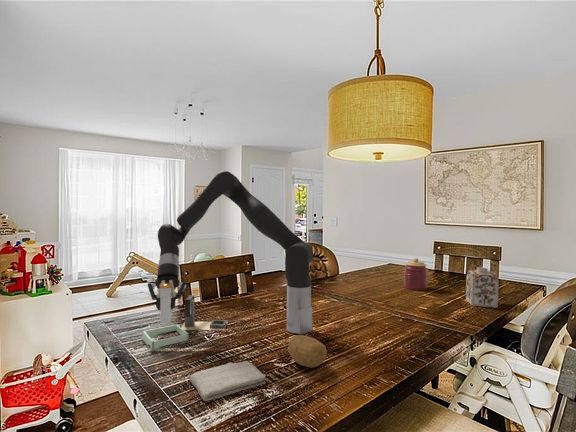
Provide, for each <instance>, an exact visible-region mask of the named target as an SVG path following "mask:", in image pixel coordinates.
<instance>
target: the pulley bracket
mask: <svg viewBox="0 0 576 432" xmlns="http://www.w3.org/2000/svg"><path fill="white" fill-rule="evenodd" d="M195 303H196V302H195V295H188V297H186V298H185V300H184V322H183V324H181V326H180V327H181V328H182V329H183V330H184V331H224V330H225V329H226V326H227V324H228V321H227V319H225V320H224V319H217V320H216V319H212V320H211V321H195V317H196V315H195V314H196V310H195V308H196V306H195V305H196V304H195Z"/></svg>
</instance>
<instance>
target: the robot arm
mask: <svg viewBox="0 0 576 432" xmlns="http://www.w3.org/2000/svg"><path fill="white" fill-rule="evenodd" d="M222 195H223V196H225V197H227V198H228V199H229V200H230V201H232V202H233V203H235V204H236V206H237V207H238V208H239V209H240V210H241V212H242V214H243V215H244V216H245V218H246V219H247V221H249V223H250V224H251V225H252V226H253V227H254V228H255V229H256V230H257V231H258V232H260V233H261V234H262V235H264V236H265V237H267V238H268V239H270V240H272V241H274V242H276V243H277V244H278V245H280V246H281V247H282V249H283V250H285V256H284V269H285V271H284V272H285V275H284V276H285V279H286V331H287V332H289V333H291V334H298V335H305V334H307V333H310V332H312V331H313V306H312V304H311V303H312V301H311V299H312V278H311V276H310V264H311V263H312V261H313V260H314V251H313V249H312V247H311V246H310V245H309V244H308V243H306V241H304V240H303V239H301V238H300V237H299V236H298V235H296V233H294V232H293V231H292V230H291V229H289V227H288V226H287V225H286V224H285V223H284V222H283V221H282V220H281V219H280V217H278V216H277V215H276V214H275V213H274V212H273V211H272V210H271V209H270V208H269V207H268V206H267V205H266V204H265V203H263V202H262V201H261V200H259V199H258V198H257V197H255V196H254V195H253V194H251V193H250V191H248V189H247V188H246V186H244V185H243V184H242V182H241V181H240V180H239V178H238V177H237V176H236V175H234V174H233V173H232V172H230V171H227V170H223V171H219V172H218V173H216V175H215V176H214V177H213V178H212V180H211V181H210V182H209V184H208V185H207V186H206V187H205V188H204V189H203V191H201V193H200V195H199V196H198V197H197V198H196V199H195V200H194V202H192V203H191V204H190V205H189V206H188V207H187V208H186V209H185V210H184V211H183V212H182V213H181V214H179V215H178V216H177V218H176V221H177V224H178V225H179V226H180V228H179V229H178V228H177V227H176V226H174V225H172V224H171V223H164V224H162V225H161V226H160V227H159V229H158V231H157V241H158V244H159V249H160V251H159V252H160V253H159V254H160V255H159V260H158V267H157V275H156V280H155V281H154V282H153V283H151V282H148V283H147V287H148V291H149V294H150V297H151V300H152V301H155V308H156V310H158V311H160V284H162V283H172V287H171V311H173V310H174V309H175V308H176V300H181V298H182V297H183V295H184V292H185V290H186V288H187V283H186V281H183V282H182V281H180V280H179V272H180V248H179V245H181V244H182V243H183V241H184V240H185V239H186V236H187V235H188V234H189V232H190V231H191V229H192V228H193V227H195V225H196V224H198V223H199V222H200V221H201V220H202V218H203V217H204V216H205V214H206V213H207V211H208V210H209V208H210V207H211V205H212V204H213V203H214V202H215V201H217V199H218V198H220V197H221V196H222ZM155 287H156V288H157V289H158V292H157V294H155V291H154V290H155ZM178 287H179V290H178V292H177V293H176V292H175V290H176V289H177V288H178Z"/></svg>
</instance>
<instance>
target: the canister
mask: <svg viewBox="0 0 576 432" xmlns="http://www.w3.org/2000/svg"><path fill="white" fill-rule="evenodd" d="M426 266H427V264H426V263H425V262H424V261H419V258H417V257H414V258H413V260H409V261H407V262H406V263H405V266H404V272H403V276H404V277H403V278H404V279H403V287H404V288H405V289H408V290H411V291H425V290H427V289H428V272H427V271H428V267H426Z"/></svg>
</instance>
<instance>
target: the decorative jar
mask: <svg viewBox="0 0 576 432" xmlns="http://www.w3.org/2000/svg"><path fill="white" fill-rule="evenodd" d="M465 279H466V280H465V283H466V284H465V300H466V301H467V302H468V303H469V304H470V305H471V306H472V307H480V308H481V307H484V308H497V309H498V306H499V284H500V283H499V282H500V281H499V277H498V274H497V273H495V272H494V271H490V270H488V268H487V267H479V266H477V267H476V269H470V270H468V271H467V273H466V278H465Z"/></svg>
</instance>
